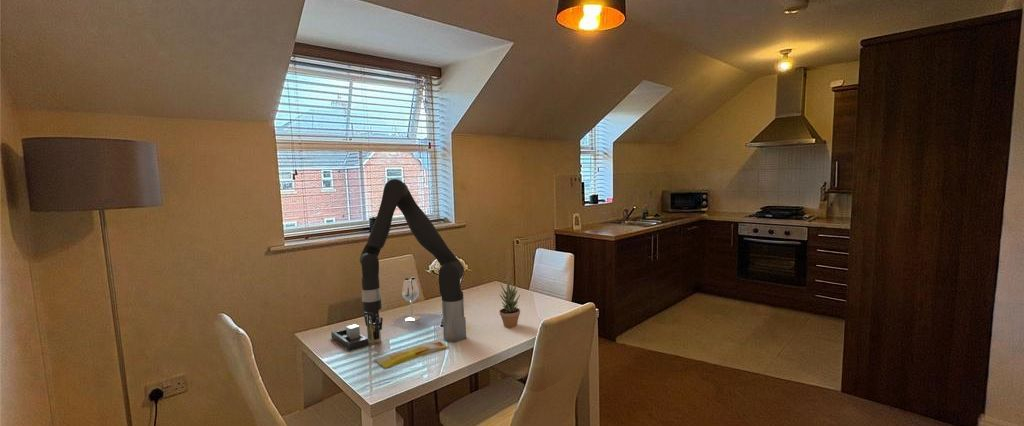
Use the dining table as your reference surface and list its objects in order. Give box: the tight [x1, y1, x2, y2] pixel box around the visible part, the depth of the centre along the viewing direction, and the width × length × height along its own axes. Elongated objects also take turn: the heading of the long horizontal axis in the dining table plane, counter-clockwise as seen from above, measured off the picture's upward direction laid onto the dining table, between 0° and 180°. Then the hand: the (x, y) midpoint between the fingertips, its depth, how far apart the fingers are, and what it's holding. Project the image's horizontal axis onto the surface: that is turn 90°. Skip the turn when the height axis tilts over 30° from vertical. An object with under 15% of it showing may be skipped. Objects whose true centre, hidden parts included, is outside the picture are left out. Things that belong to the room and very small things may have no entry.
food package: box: [373, 339, 449, 369], centre depth 170 cm, size 27×2×10 cm
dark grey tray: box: [330, 327, 370, 352], centre depth 185 cm, size 20×8×3 cm, turn 42°
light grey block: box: [345, 323, 361, 342], centre depth 181 cm, size 4×4×8 cm
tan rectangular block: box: [366, 323, 382, 345], centre depth 184 cm, size 4×4×8 cm
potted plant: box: [498, 273, 521, 329], centre depth 197 cm, size 10×10×25 cm
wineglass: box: [402, 277, 421, 322], centre depth 211 cm, size 8×8×20 cm
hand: (374, 337), depth 184 cm, fingers closed on tan rectangular block, 4 cm apart
